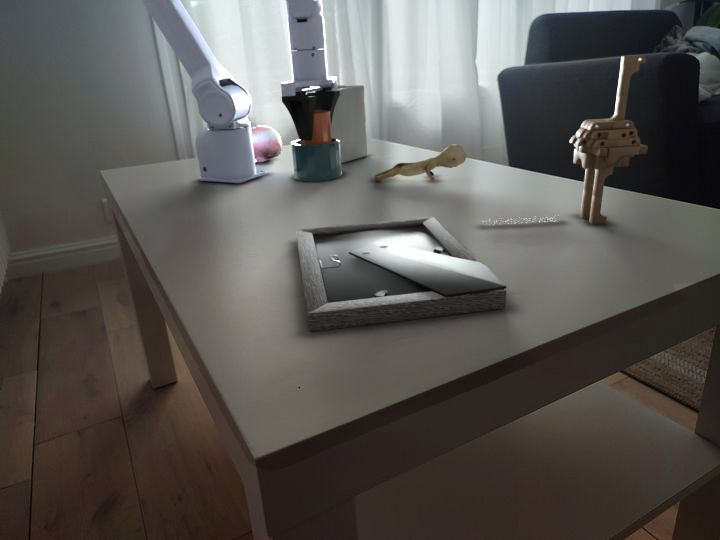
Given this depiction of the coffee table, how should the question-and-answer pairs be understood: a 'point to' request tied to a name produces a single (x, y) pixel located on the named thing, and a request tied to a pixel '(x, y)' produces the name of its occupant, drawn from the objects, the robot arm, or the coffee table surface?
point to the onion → (265, 143)
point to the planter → (350, 122)
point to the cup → (320, 128)
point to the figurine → (427, 164)
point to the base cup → (317, 161)
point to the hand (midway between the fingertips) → (315, 136)
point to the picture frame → (390, 274)
